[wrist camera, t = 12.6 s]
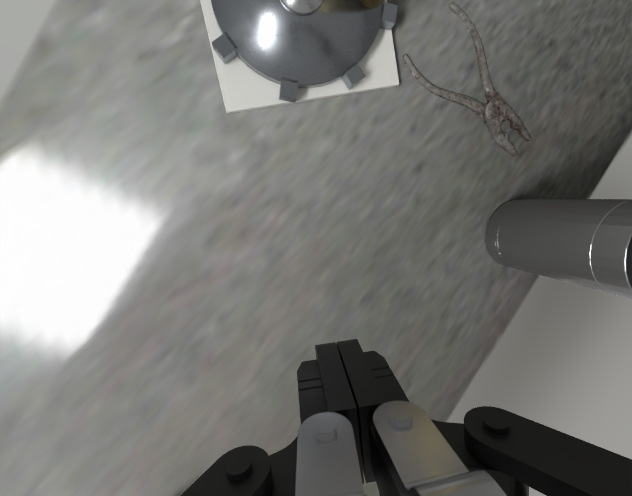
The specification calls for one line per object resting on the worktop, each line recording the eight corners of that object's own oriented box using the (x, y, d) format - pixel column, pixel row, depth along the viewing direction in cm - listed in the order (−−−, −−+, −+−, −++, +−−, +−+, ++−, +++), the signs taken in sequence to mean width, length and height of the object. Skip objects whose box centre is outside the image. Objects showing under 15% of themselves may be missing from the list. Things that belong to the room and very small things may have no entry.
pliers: (442, -10, 39) (558, 94, 43) (438, -5, 39) (552, 96, 44) (398, 64, 39) (518, 159, 44) (395, 66, 40) (513, 160, 44)
